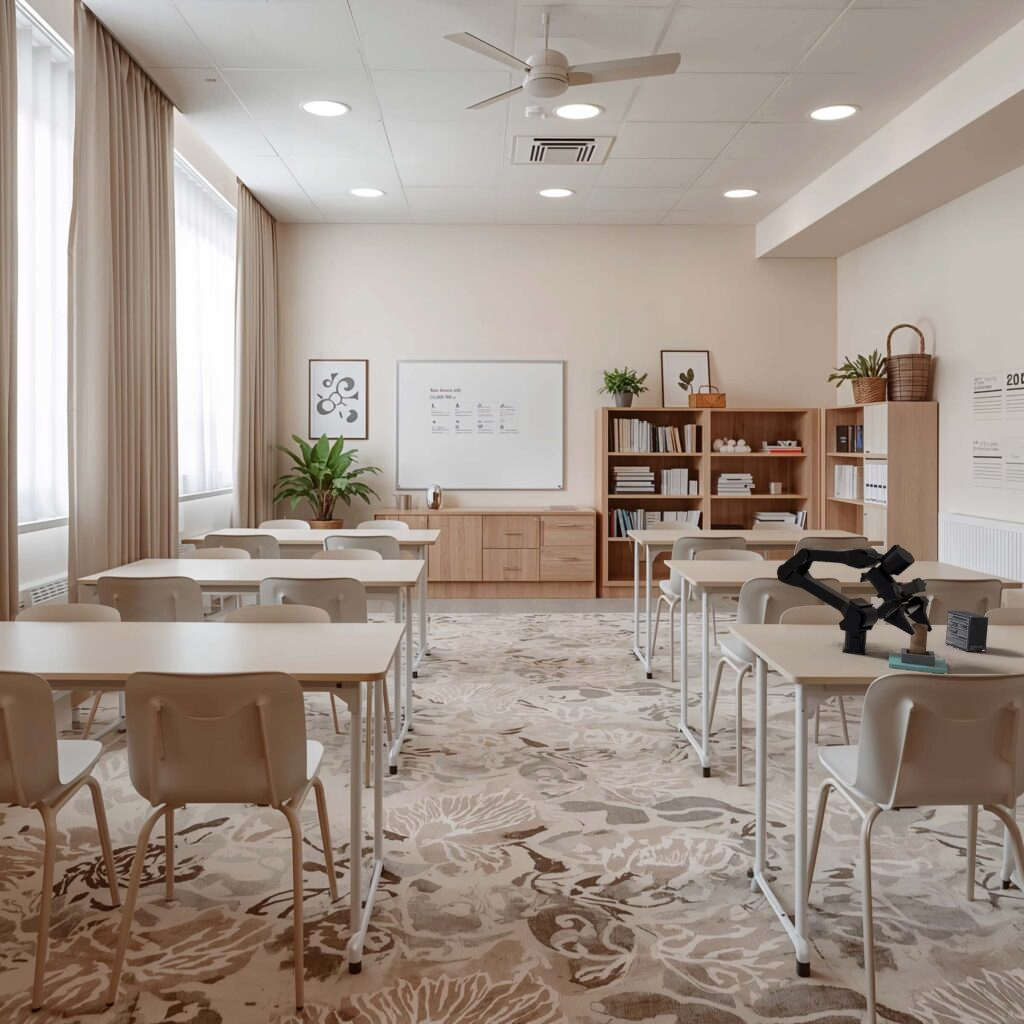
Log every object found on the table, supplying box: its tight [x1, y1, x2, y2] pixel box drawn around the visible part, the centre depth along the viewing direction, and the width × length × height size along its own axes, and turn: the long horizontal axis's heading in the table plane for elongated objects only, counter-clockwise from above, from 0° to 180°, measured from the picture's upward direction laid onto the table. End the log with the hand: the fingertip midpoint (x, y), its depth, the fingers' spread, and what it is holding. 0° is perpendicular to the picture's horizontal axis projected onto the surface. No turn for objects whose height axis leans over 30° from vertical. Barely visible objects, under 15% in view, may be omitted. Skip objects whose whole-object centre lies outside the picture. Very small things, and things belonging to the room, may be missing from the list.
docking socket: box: [888, 647, 949, 674], centre depth 241 cm, size 14×14×4 cm
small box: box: [944, 610, 989, 652], centre depth 265 cm, size 11×6×10 cm, turn 9°
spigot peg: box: [909, 622, 928, 655], centre depth 240 cm, size 4×4×10 cm
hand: (922, 632), depth 240 cm, fingers open, 9 cm apart
